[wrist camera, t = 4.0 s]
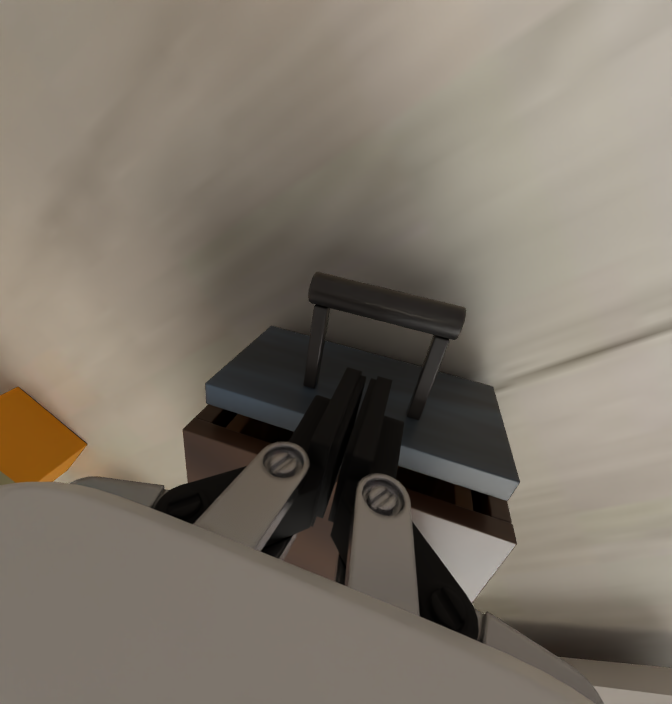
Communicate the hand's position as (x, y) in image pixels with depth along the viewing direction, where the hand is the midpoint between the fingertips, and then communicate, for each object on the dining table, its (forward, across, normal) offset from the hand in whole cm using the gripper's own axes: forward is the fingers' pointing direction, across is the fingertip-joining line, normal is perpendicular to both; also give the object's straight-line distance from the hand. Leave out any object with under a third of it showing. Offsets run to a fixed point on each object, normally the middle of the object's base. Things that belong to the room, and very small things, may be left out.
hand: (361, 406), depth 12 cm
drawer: (+8, 0, +7) cm, 10 cm away
